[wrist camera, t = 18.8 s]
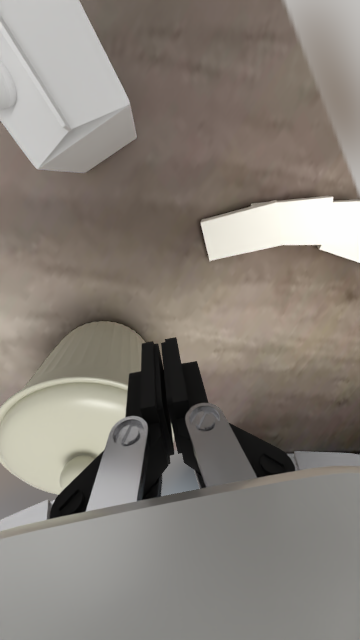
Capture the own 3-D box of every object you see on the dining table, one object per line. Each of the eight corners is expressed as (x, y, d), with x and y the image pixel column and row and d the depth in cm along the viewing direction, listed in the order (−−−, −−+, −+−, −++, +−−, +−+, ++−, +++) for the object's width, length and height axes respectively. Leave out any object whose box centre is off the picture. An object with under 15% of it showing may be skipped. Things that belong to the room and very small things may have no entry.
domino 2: (250, 205, 32) (333, 197, 29) (250, 203, 33) (330, 195, 31) (250, 246, 34) (326, 241, 32) (250, 243, 35) (323, 238, 33)
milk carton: (96, 58, 25) (0, -175, 8) (137, 137, 28) (127, 81, 12) (38, 102, 26) (-149, -30, 9) (84, 173, 29) (6, 168, 13)
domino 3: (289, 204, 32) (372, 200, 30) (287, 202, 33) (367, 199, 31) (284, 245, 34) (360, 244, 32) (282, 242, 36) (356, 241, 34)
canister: (25, 313, 36) (-96, 450, 18) (152, 289, 37) (159, 400, 19) (71, 403, 45) (20, 556, 27) (172, 383, 46) (190, 520, 28)
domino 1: (200, 222, 32) (277, 202, 29) (201, 219, 33) (275, 199, 30) (209, 260, 34) (281, 245, 32) (210, 256, 36) (279, 241, 33)
